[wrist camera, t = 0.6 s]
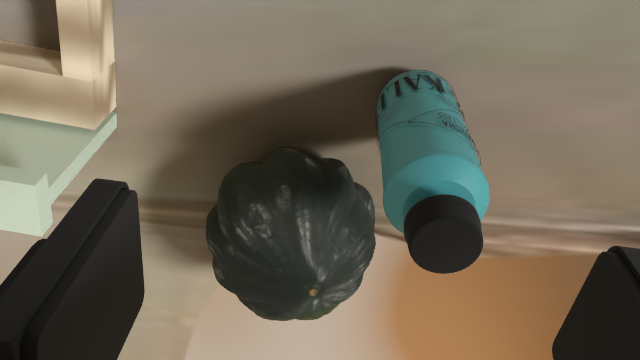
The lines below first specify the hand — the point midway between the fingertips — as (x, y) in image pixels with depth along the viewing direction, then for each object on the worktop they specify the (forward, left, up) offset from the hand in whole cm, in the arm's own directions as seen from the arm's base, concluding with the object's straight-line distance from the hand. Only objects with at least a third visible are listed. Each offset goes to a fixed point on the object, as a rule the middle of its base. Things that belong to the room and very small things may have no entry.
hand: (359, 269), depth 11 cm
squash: (+21, -1, -34) cm, 40 cm away
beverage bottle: (+9, +7, -34) cm, 35 cm away
